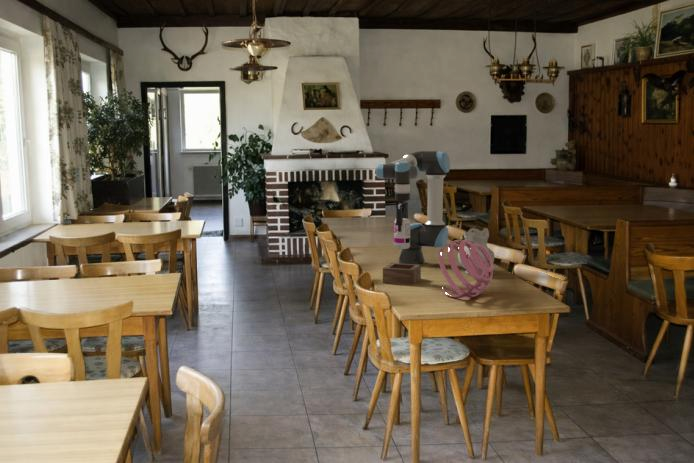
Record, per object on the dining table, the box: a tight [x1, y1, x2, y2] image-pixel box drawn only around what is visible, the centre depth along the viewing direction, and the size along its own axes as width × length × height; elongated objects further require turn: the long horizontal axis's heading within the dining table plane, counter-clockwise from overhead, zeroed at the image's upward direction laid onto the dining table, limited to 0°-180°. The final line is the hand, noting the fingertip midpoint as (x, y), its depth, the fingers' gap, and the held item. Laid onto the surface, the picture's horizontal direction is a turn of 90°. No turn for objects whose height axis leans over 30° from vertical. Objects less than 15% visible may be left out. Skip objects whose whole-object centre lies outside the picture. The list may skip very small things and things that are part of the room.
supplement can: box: [393, 217, 411, 250], centre depth 390 cm, size 8×8×15 cm
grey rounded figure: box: [457, 227, 495, 275], centre depth 411 cm, size 22×20×25 cm
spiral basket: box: [438, 239, 494, 299], centre depth 357 cm, size 28×28×27 cm
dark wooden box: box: [382, 262, 422, 286], centre depth 393 cm, size 16×16×8 cm
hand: (402, 236), depth 391 cm, fingers closed on supplement can, 8 cm apart
